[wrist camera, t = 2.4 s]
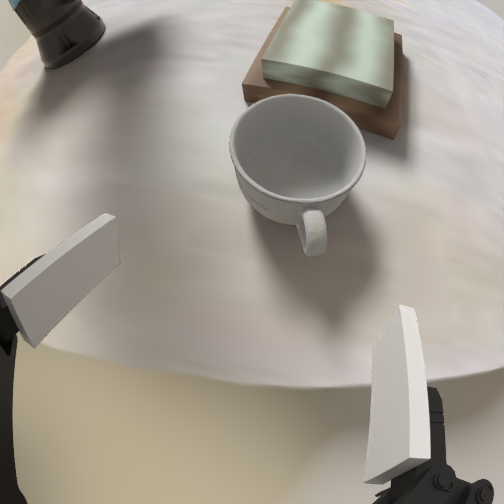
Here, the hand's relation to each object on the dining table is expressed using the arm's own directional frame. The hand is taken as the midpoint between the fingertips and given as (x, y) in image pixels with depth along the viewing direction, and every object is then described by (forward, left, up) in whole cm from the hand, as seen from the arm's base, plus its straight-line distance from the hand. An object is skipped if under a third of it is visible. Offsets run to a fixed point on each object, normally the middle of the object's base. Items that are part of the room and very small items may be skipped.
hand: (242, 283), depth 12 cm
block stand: (0, +32, -15) cm, 35 cm away
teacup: (0, +11, -15) cm, 18 cm away
